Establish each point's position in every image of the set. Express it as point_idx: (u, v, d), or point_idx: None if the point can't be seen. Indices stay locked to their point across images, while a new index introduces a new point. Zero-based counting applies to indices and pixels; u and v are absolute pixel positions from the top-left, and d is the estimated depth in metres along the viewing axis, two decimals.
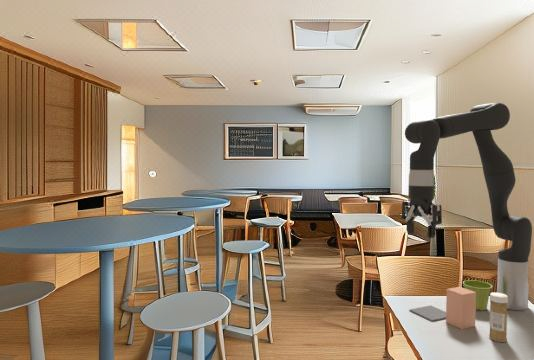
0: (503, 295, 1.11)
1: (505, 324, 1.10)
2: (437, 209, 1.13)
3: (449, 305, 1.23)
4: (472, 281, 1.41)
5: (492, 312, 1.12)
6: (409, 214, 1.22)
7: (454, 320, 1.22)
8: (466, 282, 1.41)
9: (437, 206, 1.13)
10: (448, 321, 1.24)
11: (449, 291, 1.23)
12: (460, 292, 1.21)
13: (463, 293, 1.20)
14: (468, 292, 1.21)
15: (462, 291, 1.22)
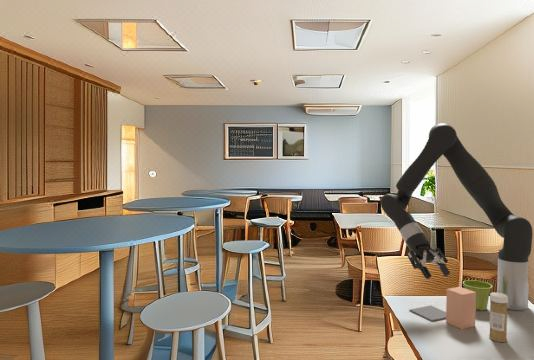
0: (503, 295, 1.11)
1: (505, 324, 1.10)
2: (409, 256, 1.34)
3: (449, 305, 1.23)
4: (472, 281, 1.41)
5: (492, 312, 1.12)
6: None
7: (454, 320, 1.22)
8: (466, 282, 1.41)
9: (408, 254, 1.35)
10: (448, 321, 1.24)
11: (449, 291, 1.23)
12: (460, 292, 1.21)
13: (463, 293, 1.20)
14: (468, 292, 1.21)
15: (462, 291, 1.22)
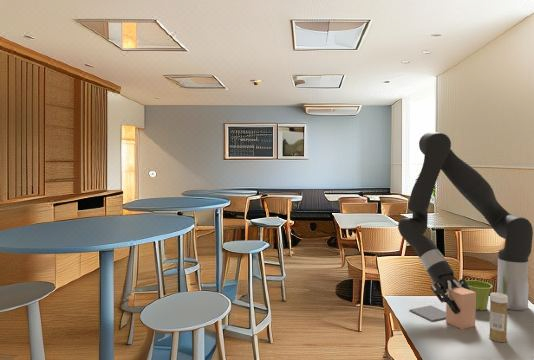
0: (503, 295, 1.11)
1: (505, 324, 1.10)
2: (433, 289, 1.24)
3: None
4: (472, 281, 1.41)
5: (492, 312, 1.12)
6: None
7: (454, 320, 1.22)
8: (466, 282, 1.41)
9: (432, 287, 1.25)
10: (448, 321, 1.24)
11: None
12: (460, 292, 1.21)
13: (463, 293, 1.20)
14: (468, 292, 1.21)
15: (462, 291, 1.22)
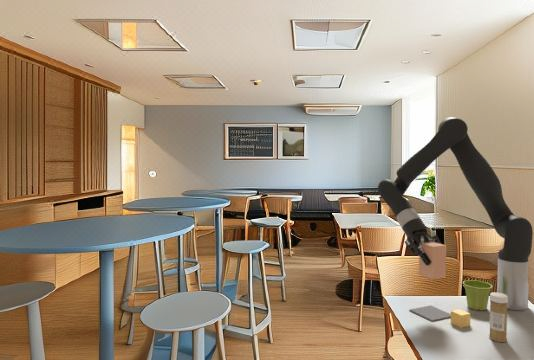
0: (503, 295, 1.11)
1: (505, 324, 1.10)
2: (407, 243, 1.32)
3: None
4: (472, 281, 1.41)
5: (492, 312, 1.12)
6: None
7: (426, 271, 1.29)
8: (466, 282, 1.41)
9: (406, 241, 1.33)
10: (421, 273, 1.31)
11: None
12: (431, 245, 1.29)
13: (434, 245, 1.28)
14: (439, 245, 1.29)
15: (433, 244, 1.30)
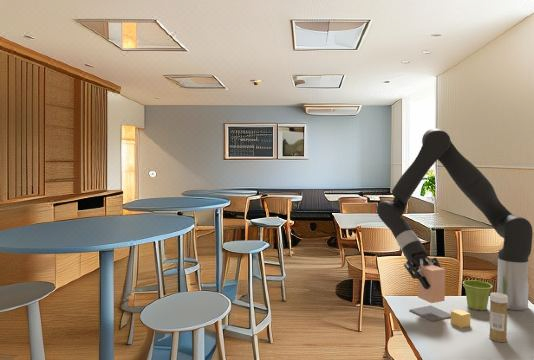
0: (503, 295, 1.11)
1: (505, 324, 1.10)
2: (406, 266, 1.33)
3: None
4: (472, 281, 1.41)
5: (492, 312, 1.12)
6: None
7: (425, 295, 1.30)
8: (466, 282, 1.41)
9: (405, 264, 1.33)
10: (420, 296, 1.32)
11: None
12: (430, 269, 1.29)
13: (433, 269, 1.28)
14: (438, 269, 1.29)
15: (433, 268, 1.30)
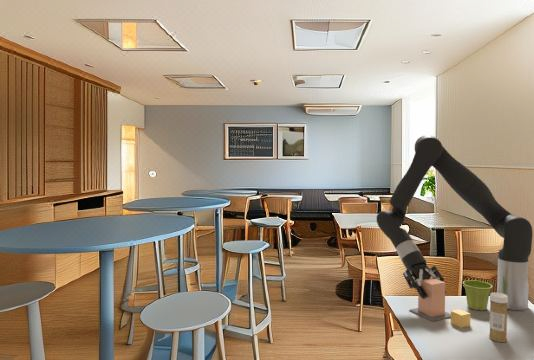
0: (503, 295, 1.11)
1: (505, 324, 1.10)
2: (405, 275, 1.33)
3: None
4: (472, 281, 1.41)
5: (492, 312, 1.12)
6: None
7: (425, 308, 1.30)
8: (466, 282, 1.41)
9: (404, 273, 1.34)
10: (420, 310, 1.32)
11: (421, 281, 1.32)
12: (430, 282, 1.29)
13: (433, 283, 1.28)
14: (438, 282, 1.29)
15: (432, 281, 1.30)
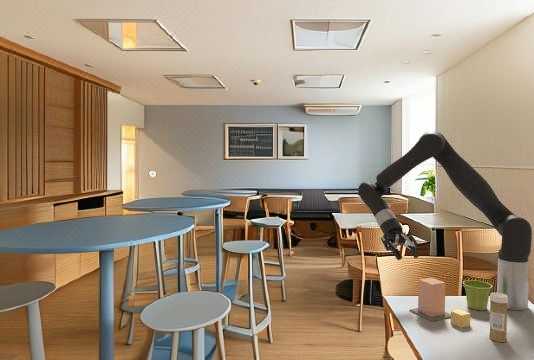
0: (503, 295, 1.11)
1: (505, 324, 1.10)
2: (382, 239, 1.44)
3: (421, 295, 1.32)
4: (472, 281, 1.41)
5: (492, 312, 1.12)
6: None
7: (425, 308, 1.30)
8: (466, 282, 1.41)
9: (382, 237, 1.45)
10: (420, 310, 1.32)
11: (421, 281, 1.32)
12: (430, 282, 1.29)
13: (433, 283, 1.28)
14: (438, 282, 1.29)
15: (432, 281, 1.30)
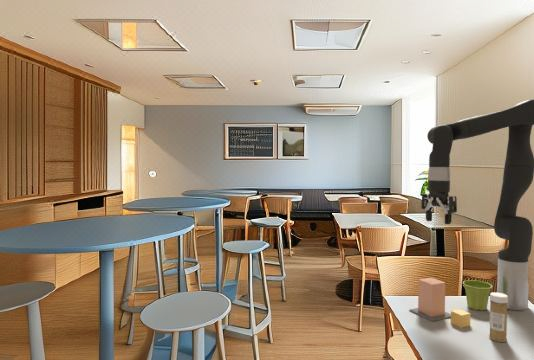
0: (503, 295, 1.11)
1: (505, 324, 1.10)
2: (453, 199, 1.35)
3: (421, 295, 1.32)
4: (472, 281, 1.41)
5: (492, 312, 1.12)
6: (428, 204, 1.44)
7: (425, 308, 1.30)
8: (466, 282, 1.41)
9: (453, 197, 1.35)
10: (420, 310, 1.32)
11: (421, 281, 1.32)
12: (430, 282, 1.29)
13: (433, 283, 1.28)
14: (438, 282, 1.29)
15: (432, 281, 1.30)
